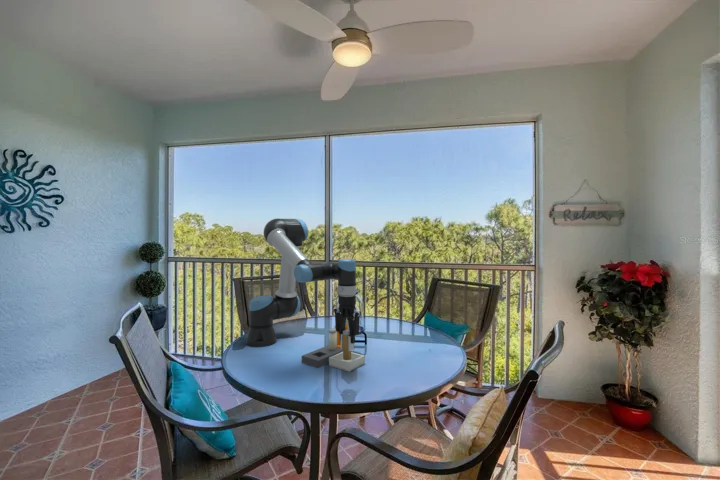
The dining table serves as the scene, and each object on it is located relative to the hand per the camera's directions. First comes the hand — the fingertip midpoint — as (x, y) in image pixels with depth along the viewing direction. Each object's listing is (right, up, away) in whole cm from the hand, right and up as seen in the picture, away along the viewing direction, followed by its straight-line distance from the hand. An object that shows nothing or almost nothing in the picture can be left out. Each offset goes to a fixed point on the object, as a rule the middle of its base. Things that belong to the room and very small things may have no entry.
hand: (347, 349), depth 149 cm
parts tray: (0, -7, 0) cm, 7 cm away
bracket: (-3, -6, +21) cm, 22 cm away
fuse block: (-11, -6, +7) cm, 14 cm away
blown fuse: (0, -4, 0) cm, 4 cm away
